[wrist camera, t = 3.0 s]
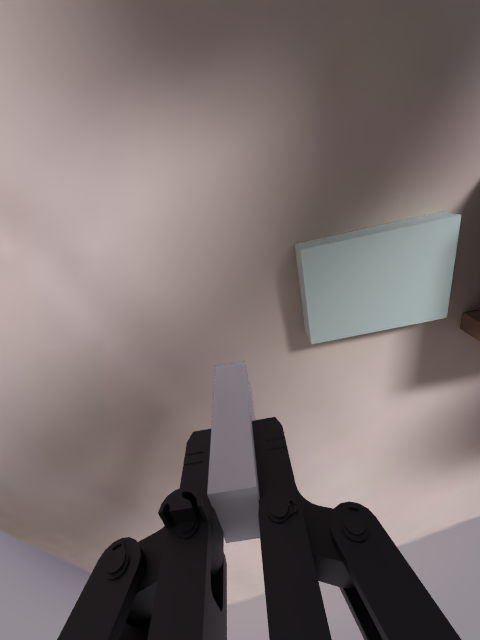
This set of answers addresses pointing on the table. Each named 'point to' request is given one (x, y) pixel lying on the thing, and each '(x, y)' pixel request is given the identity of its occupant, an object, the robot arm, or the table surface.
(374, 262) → the board
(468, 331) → the tan notched block
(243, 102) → the table surface
